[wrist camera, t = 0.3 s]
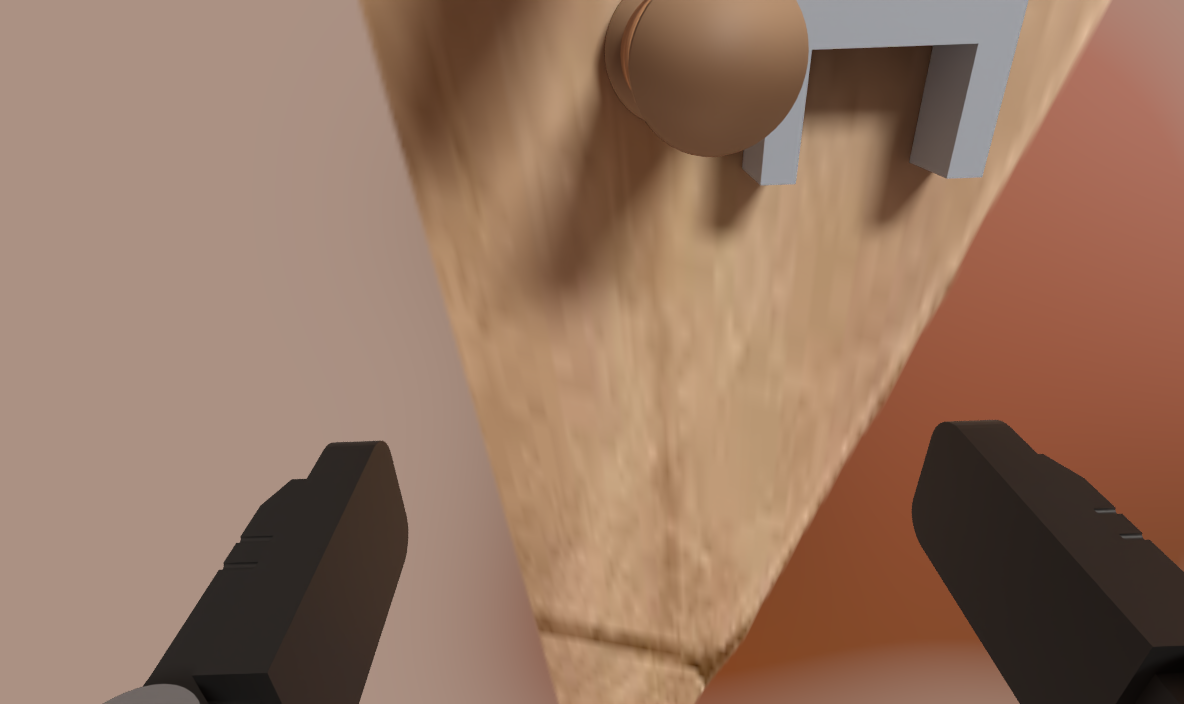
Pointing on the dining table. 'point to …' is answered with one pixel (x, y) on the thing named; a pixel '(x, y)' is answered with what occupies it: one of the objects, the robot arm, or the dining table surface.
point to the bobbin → (708, 68)
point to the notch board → (953, 85)
